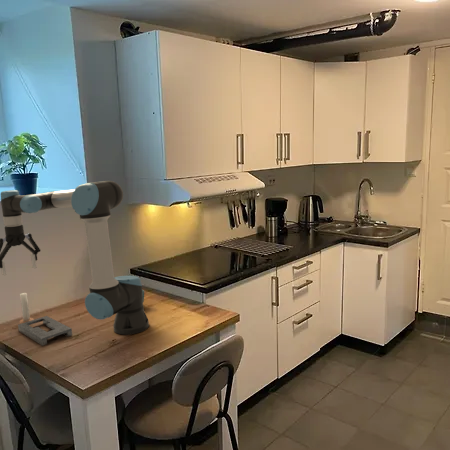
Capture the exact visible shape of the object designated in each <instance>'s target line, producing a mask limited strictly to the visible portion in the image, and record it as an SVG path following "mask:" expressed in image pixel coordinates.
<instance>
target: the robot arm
mask: <svg viewBox="0 0 450 450" xmlns="http://www.w3.org/2000/svg"><path fill="white" fill-rule="evenodd" d="M123 200H124V191H123V188H122V186H120V184H119V183H117V182H116V181H113V180H103V181H95V182H94V181H93V182H86V183H84V184H83V183H82V184H79V185H78V186H76V187H75V188H74V189H64V190H53V191H47V192H42V193H34V194H33V193H31V194H26V195H25V194H24V195H21V194H20V191H19V190H17V189H12V190H3V191H1V192H0V204H1V211H2V217H3V225H4V226H5V227H4V234H5V238H4V237H0V270H1V275H2V276H6V275H7V272H6V271H7V270H6V265H5V264H6V263H5V260H4V258H5V257H6V255H7V253H8V252H9V250H10V249H11V248H12V247H17V246H21V245H22V246H23V247H25V248H26V249H27V250H28V251H29V252H30V258H31V260H30V261H31V268H33V269H37V263H36V262H37V261H38V253H40V252H41V248H40V247H39V246H38V244H37V243H36V241H35V240H34V239H33V235H32V234H31V233H29V232H27V233H26V234H25V231H24V225H23V223H24V221H23V215H22V214H23V213H24V214H25V213H26V214H35V213H39V211H44V210H45V211H46V210H49V209H60V208H72V209H73V210H74V213H76V214H77V215H79V220H81V221H82V222H83V223H84V228H85V235H86V242H87V248H88V249H87V250H88V257H89V265H90V273H91V283H90V284H89V286H88V288H89V293H88V294H87V295H86V296H85V298H84V306H85V308H86V309H85V310H86V311H87V312H88V313H89V315H91V317H93V318H94V319H96V320H98V321H99V320H101V321H102V320H106V319H108V318H111V317H113V316H115V318H114V320H113V325H112V326H113V332H114V333H116V334H119V335H134V334H138V333H142V332H144V331H146V330H147V329H148V328H149V327H150V323H149V322H150V321H149V319H148V317H147V314H146V312H145V310H144V302H143V296H142V290H143V285H142V280H141V278H140V277H139V276H136V275H119V276H115V273H114V266H113V265H114V264H113V256H112V255H113V254H112V248H111V240H110V232H109V223H108V219H109V218H110V217H111V216H112V215H111V214H112V213H111V210H113V209H116V208H117V207H119V206H120V204H121V203H122V202H123ZM25 239H27V240H28V242H29V244H31V245H32V246H31V245H29V244H28V243H27V242H26V241H25ZM4 243H6V244H5V246H4ZM3 246H4V247H3Z"/></svg>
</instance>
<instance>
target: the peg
mask: <svg viewBox="0 0 450 450" xmlns="http://www.w3.org/2000/svg"><path fill="white" fill-rule="evenodd" d="M19 298H20V306H21V313H22V315H21V316H22V319H20V320H19V324H21V323H25V322H28V321H31V320H35V319H34V318H33V317H31V315H30V314H31V313H30V307H29V299H28V293H27V292H22V293H19Z"/></svg>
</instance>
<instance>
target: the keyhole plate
mask: <svg viewBox="0 0 450 450" xmlns="http://www.w3.org/2000/svg"><path fill="white" fill-rule="evenodd" d="M40 322H42V324H43V325H45V326H46V327H47V328H49V329H51V330H48V331H46V330H44V329H43V328H41V327H40V326H34V327H33V326H31V325H34V324H37V323H40ZM17 326H18V332H20V333H21V334H23V335H25V336H26V337H28V338H30V339H31V340H33V341H34V342H36V343H37V344H39V345H40V346H42V347H43V346H46V345H48V340H49V339H51V338H54V337H57V336H60V335H64V336H66V337H71V336H73V331H72V327H69V326H67V325H65V324H64V323H62V322H60V321H58V320H55V319H53V318H52V317H50V316H48V315H45V316H42V317H38V318H35V319H34V320H31V321H28V322H25V323H21V324H20V323H19V324H17Z"/></svg>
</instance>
